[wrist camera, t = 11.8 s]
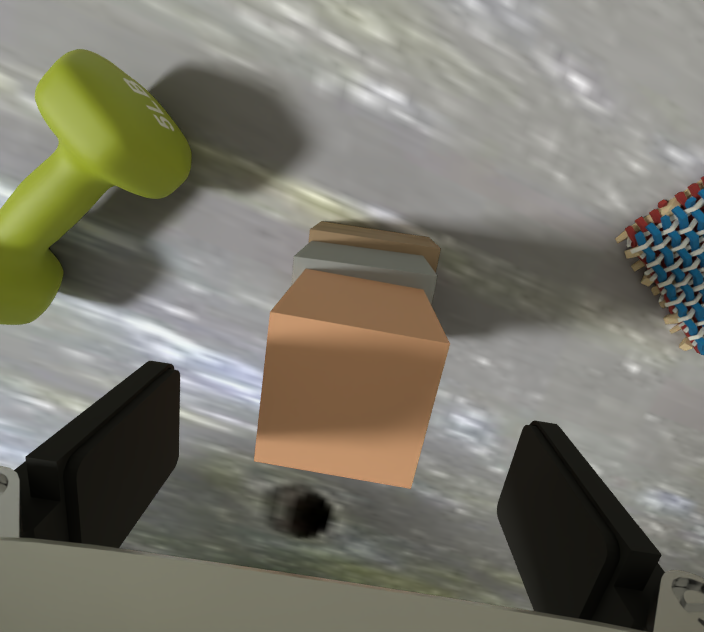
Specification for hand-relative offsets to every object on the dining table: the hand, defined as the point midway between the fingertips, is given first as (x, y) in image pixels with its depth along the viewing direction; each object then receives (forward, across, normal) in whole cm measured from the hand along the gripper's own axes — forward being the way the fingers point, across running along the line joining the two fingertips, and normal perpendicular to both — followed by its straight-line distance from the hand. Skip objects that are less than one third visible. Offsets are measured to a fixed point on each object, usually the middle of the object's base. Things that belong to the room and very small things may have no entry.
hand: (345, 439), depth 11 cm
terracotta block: (+7, 0, 0) cm, 7 cm away
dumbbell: (+18, +18, -3) cm, 25 cm away
